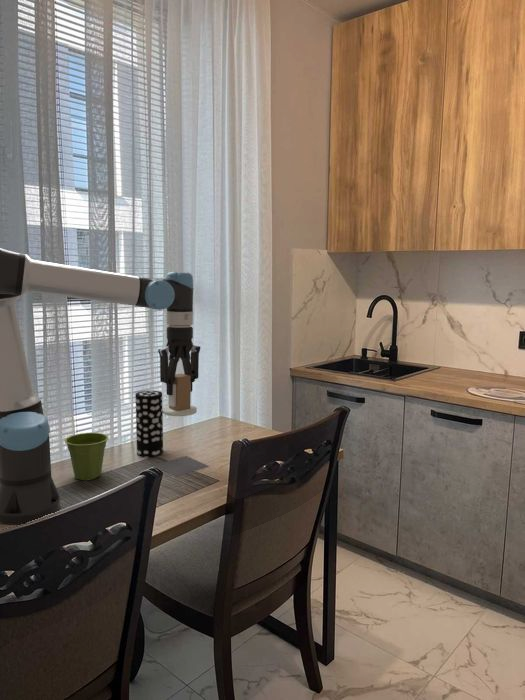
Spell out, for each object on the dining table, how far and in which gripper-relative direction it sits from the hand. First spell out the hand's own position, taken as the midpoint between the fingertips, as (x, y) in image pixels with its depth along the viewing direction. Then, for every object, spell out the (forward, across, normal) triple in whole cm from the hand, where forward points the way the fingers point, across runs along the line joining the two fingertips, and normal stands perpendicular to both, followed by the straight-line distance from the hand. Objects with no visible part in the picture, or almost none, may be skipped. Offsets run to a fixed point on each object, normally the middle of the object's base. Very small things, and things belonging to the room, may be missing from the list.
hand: (179, 404), depth 158 cm
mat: (+19, +1, 0) cm, 20 cm away
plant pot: (+20, -23, +12) cm, 33 cm away
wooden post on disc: (+2, 0, 0) cm, 2 cm away
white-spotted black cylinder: (+20, 0, +16) cm, 25 cm away
